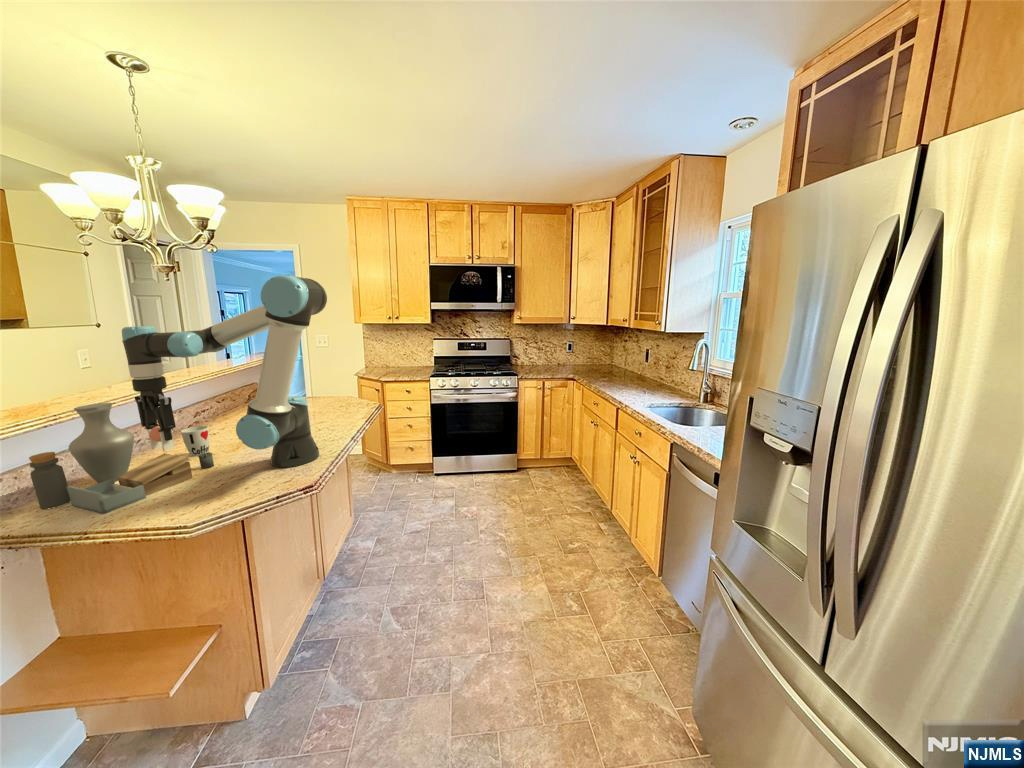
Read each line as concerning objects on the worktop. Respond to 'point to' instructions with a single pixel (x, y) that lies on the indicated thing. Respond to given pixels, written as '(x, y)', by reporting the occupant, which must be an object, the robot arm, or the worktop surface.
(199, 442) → the cup
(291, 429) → the robot arm
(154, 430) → the ball
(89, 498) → the bin
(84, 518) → the worktop surface
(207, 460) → the tee
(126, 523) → the worktop surface
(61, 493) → the bottle
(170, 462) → the ramp
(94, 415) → the vase
